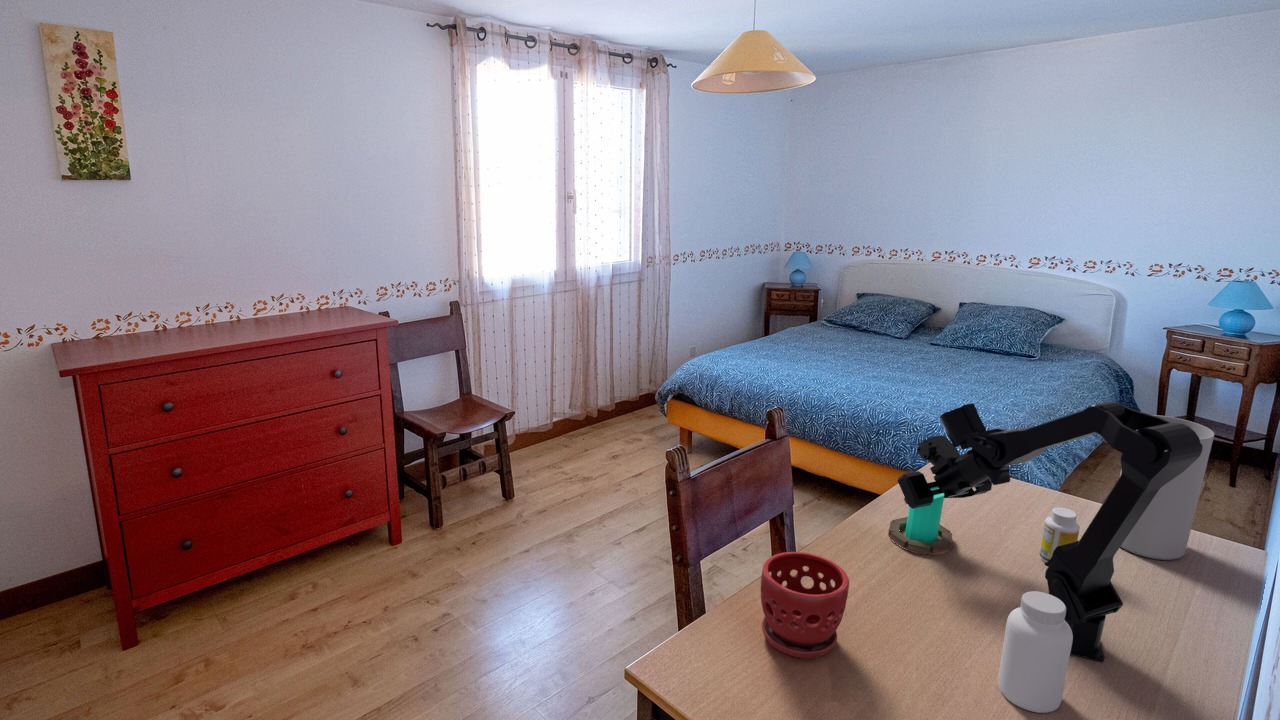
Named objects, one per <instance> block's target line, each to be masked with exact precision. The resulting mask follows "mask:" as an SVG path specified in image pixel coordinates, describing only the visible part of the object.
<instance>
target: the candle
mask: <svg viewBox="0 0 1280 720" xmlns="http://www.w3.org/2000/svg"><path fill="white" fill-rule="evenodd" d="M937 489H939V488H937ZM932 490H934V489H932ZM944 499H945V498H944V493H943V494H938V495H934V498H933V503H931V505H928V506H924V507H919V508H914V509H912V508H911V507H909V506H908V514H907V517H908V519H907V525H906V532H905V536H906V537H908V538H909V539H910V540H915V541H920V542H925V543H931V542H936V541H937V537H938V531H939V525H941V518H942V513H943V512H942V511H943V506H944Z"/></svg>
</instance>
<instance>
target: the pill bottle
mask: <svg viewBox="0 0 1280 720" xmlns="http://www.w3.org/2000/svg"><path fill="white" fill-rule="evenodd" d="M1065 615H1066V606H1065V604H1064V603H1063V602H1062V601H1061V600H1060V599H1058V598H1056V597H1055V596H1052V595H1050V594H1049V593H1047V592H1042V591H1035V590H1034V591H1027V592H1025V593H1023V594H1022V595H1021V601H1020V607H1017V608H1015V609H1013V610H1012V611H1011V612H1010V613H1009V615H1008V617H1007V619H1006V625H1005V633H1004V637H1003V638H1004V639H1003V644H1002V650H1001V651H1002V652H1001V658H1000V663H999V670H998V676H997V678H998V679H997V684H998V685H997V686H998V688H999V690H1000V692H1001V694H1002V695H1003V696H1004V697H1005V698H1006V700H1008V701H1009V702H1010V703H1012V704H1013V705H1015V706H1017V707H1018V708H1021V709H1022V710H1023V709H1024V710H1027V711H1028V712H1033V713H1039V714H1041V713H1042V714H1047V713H1048V714H1049V713H1052V712H1054V711H1055V710H1057V709H1058V708H1059V707H1060V706H1061V703H1062V698H1063V695H1064V694H1063V693H1064V689H1065V685H1066V684H1065V683H1066V678H1067V673H1068V668H1069V662H1070V657H1071V654H1070V652H1071V647H1072V641H1073V634H1072V630H1071V628H1070V626H1069V625H1068V623H1067V622H1066V621H1065V620H1064V619H1065Z"/></svg>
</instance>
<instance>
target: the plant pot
mask: <svg viewBox="0 0 1280 720" xmlns="http://www.w3.org/2000/svg"><path fill="white" fill-rule="evenodd" d="M804 567H807V568H808V570H805V569H804ZM792 571H797V572H796V574H794V575H791V572H792ZM779 572H780V574H779V575H778V573H779ZM819 573H820V574H822V577H820V574H819ZM803 577H809V578H811V580H812V581H813V586H812V587H805V586H804V585H803V583H802V579H803ZM831 581H833V582H834V586H833V585H832V583H831ZM784 582H786V585H784V586H783V583H784ZM821 583H823V584H824V585H825V589H823V588H821ZM849 588H850V579H849V576H848V574H847V573H846V571H845V570H844V569H843V568H842V567H841V566H840V565H839V564H837V563H836V562H834V561H832V560H831V559H828V558H826V557H823V556H820V555H816V554H813V553H810V552H801V551H787V552H780V553H777V554H774V555H773V556H770V557H768V559H766V560H765V561H764V563H763V565H762V571H761V577H760V600H761V601H760V602H761V608H762V612H763V615H764V617H763V619H762V621H761V629H762V630H761V631H762V633H763V635H764V637H765V639H766V640H767V642H768V643H769V644H770V645H771V646H772V647H773V648H774V649H776V650H778V651H780V652H781V653H783V654H786V655H787V654H788V655H789V656H791V657H796V658H799V659H800V658H802V659H813V658H818V657H821V656H824V655H826V654H828V653H829V652H830V651H831V650H832V649H833V648H835V645H836V643H837V640H838V633H837V630H838V627H839V626H840V625H841V622H842V619H843V616H844V614H845V613H844V612H845V610H846V607H847V600H848V595H849Z"/></svg>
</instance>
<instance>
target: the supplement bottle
mask: <svg viewBox="0 0 1280 720" xmlns="http://www.w3.org/2000/svg"><path fill="white" fill-rule="evenodd" d="M1077 516H1078V515H1077V513H1076V512H1075V511H1074V510H1072V509H1068V508H1064V507H1053V508H1052V511H1051V514H1050V515H1049V516H1048V517H1046V519H1045V521H1044V526H1043V532H1042V539H1041V542H1040V549H1039V558H1040V559H1041V560H1042V561H1043V562H1044V563H1046V562H1048V561H1049V560H1050V559H1051V557H1052V554H1053V552H1054V550H1055V548H1056V547H1057V546H1061V545H1064V544H1068V543H1072V542H1076V541H1079V540H1078V539H1079V533H1080V528H1081V527H1080V524H1078V522H1077Z"/></svg>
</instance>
